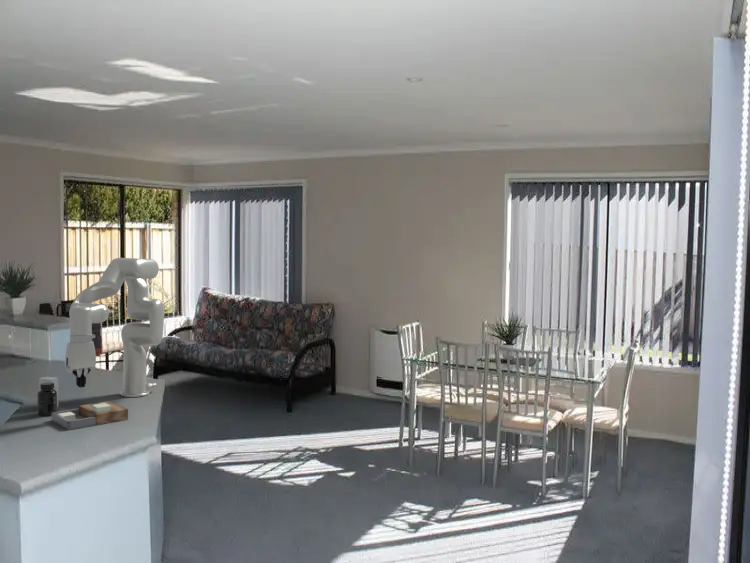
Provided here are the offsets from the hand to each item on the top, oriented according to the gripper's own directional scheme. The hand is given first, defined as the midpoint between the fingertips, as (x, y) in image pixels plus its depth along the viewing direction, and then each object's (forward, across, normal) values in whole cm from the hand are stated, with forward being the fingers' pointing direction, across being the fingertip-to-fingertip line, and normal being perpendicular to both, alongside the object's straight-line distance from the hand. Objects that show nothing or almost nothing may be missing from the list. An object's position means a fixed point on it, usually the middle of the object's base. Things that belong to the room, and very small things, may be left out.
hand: (81, 386), depth 248 cm
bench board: (+12, -6, +4) cm, 15 cm away
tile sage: (+8, -4, +8) cm, 12 cm away
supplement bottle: (+12, +8, -14) cm, 20 cm away
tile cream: (+10, +6, 0) cm, 11 cm away
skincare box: (+13, +4, -24) cm, 27 cm away
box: (+12, +5, +4) cm, 14 cm away
